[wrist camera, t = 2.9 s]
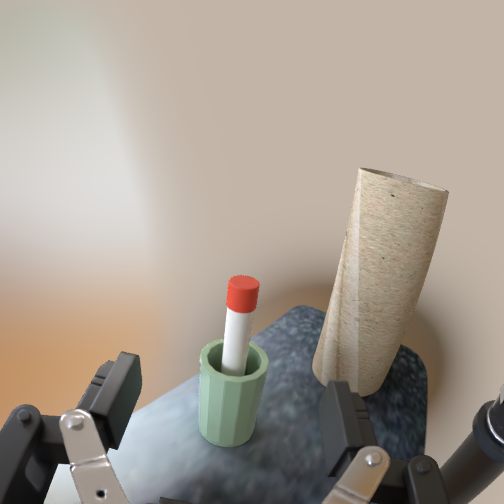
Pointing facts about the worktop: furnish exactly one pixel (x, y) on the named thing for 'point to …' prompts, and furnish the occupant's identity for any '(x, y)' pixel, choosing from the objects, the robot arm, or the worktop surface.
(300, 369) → the worktop surface
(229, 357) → the marker
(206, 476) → the worktop surface
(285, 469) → the worktop surface
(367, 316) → the tube
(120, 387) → the robot arm
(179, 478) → the worktop surface
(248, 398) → the green pencil holder
